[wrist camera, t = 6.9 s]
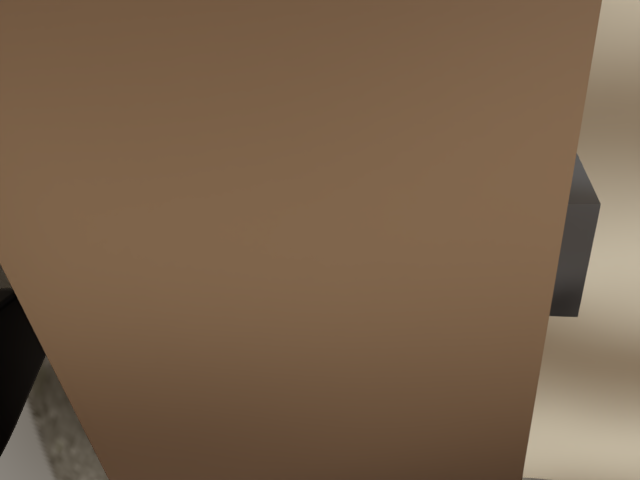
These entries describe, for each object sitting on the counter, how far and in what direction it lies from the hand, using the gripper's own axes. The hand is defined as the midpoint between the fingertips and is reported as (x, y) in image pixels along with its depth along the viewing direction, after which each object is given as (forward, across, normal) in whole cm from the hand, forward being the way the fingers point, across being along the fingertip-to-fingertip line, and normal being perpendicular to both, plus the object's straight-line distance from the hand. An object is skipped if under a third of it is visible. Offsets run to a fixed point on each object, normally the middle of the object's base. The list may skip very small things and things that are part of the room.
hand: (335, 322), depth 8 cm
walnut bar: (+1, 0, 0) cm, 1 cm away
